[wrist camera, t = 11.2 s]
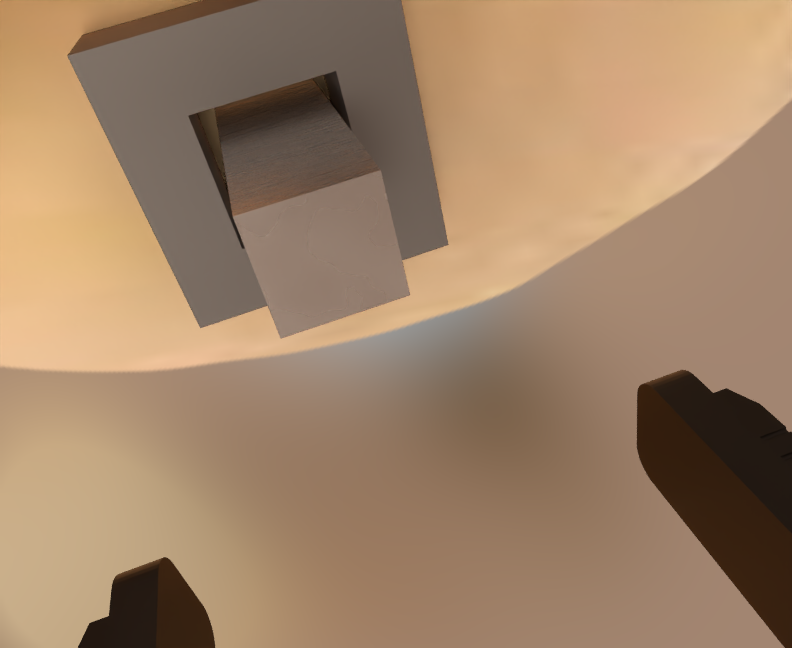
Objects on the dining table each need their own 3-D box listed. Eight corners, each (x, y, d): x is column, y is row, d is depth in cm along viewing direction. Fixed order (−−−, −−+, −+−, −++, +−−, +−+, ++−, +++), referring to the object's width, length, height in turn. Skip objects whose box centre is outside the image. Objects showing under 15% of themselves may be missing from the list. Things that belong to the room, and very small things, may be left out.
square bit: (213, 100, 26) (232, 216, 17) (308, 72, 27) (381, 170, 17) (246, 190, 29) (280, 338, 19) (333, 163, 29) (410, 294, 19)
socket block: (82, 35, 24) (67, 55, 21) (365, -47, 25) (393, -39, 22) (198, 282, 30) (200, 328, 27) (420, 209, 32) (448, 244, 28)
